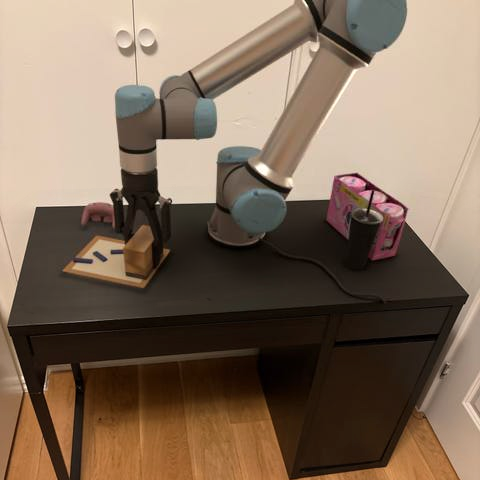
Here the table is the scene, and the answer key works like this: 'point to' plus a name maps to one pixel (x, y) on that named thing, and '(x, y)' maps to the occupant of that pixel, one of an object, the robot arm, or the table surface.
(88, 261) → the stroke
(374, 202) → the gum box
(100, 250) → the board
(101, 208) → the video game controller
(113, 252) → the stroke
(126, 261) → the eraser
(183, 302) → the table surface
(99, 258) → the stroke
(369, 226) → the drinking cup
